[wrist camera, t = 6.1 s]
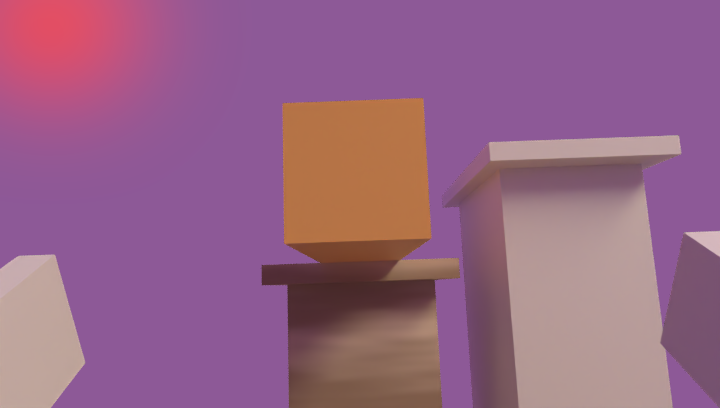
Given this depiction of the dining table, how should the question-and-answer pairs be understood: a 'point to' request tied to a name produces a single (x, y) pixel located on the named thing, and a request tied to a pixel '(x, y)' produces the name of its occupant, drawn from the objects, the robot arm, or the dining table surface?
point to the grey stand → (562, 274)
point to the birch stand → (363, 332)
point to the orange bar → (355, 179)
